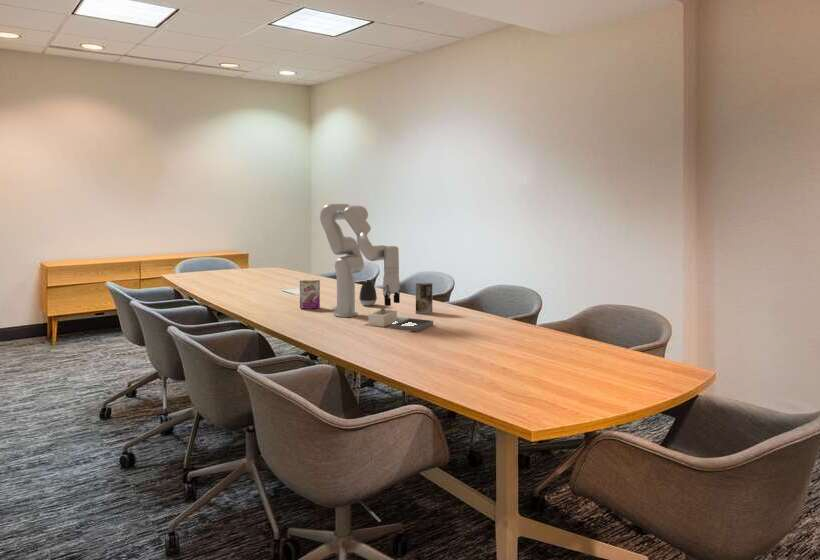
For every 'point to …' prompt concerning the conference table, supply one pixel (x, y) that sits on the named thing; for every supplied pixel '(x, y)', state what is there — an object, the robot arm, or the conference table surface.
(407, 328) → the tray
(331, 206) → the robot arm
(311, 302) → the candy bar box
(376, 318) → the collar
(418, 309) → the coffee box
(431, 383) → the conference table surface
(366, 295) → the dark vase
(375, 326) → the stake stand
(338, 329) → the conference table surface
